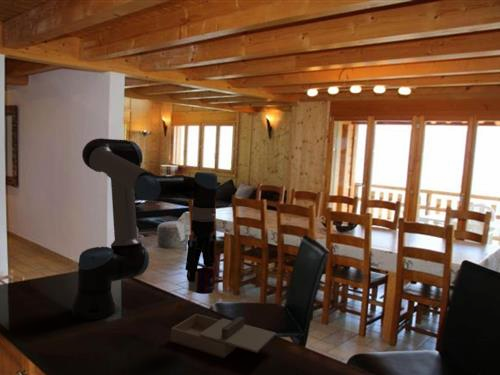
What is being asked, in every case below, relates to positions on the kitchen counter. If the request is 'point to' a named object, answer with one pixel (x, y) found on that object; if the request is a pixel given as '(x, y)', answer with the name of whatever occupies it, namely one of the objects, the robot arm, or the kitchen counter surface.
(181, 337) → the beige open box
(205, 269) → the mug
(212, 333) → the lid
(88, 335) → the kitchen counter surface
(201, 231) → the robot arm
